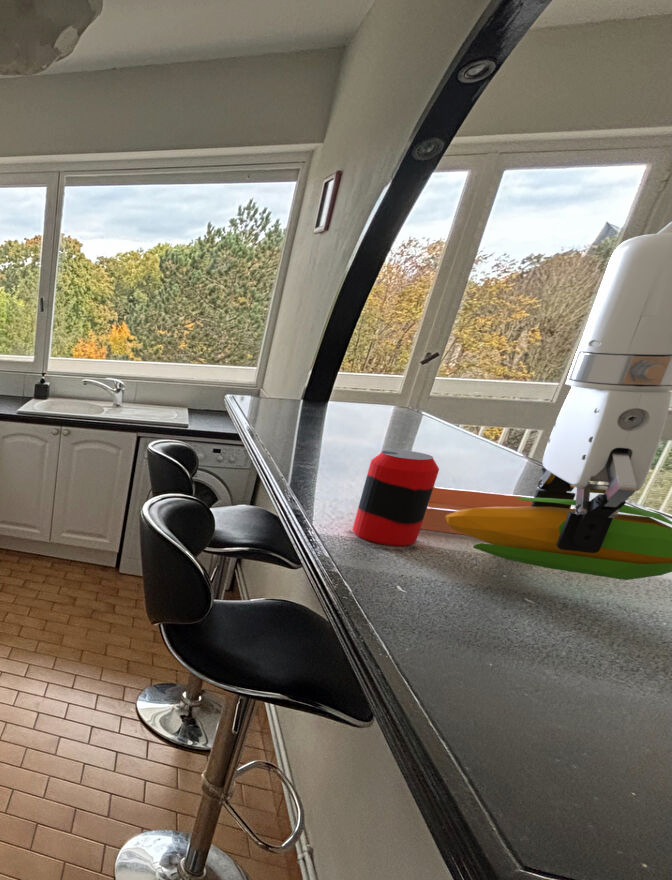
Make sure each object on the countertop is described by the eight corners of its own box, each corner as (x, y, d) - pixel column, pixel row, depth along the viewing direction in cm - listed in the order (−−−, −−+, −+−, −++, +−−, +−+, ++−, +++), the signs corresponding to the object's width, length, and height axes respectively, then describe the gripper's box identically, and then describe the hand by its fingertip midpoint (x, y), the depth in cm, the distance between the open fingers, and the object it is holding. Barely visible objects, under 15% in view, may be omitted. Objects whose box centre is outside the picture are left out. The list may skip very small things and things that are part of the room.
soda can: (350, 524, 89) (371, 446, 84) (411, 533, 85) (437, 452, 81) (353, 540, 83) (375, 456, 78) (419, 550, 79) (447, 464, 75)
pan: (552, 519, 91) (561, 499, 89) (596, 551, 79) (606, 528, 78) (367, 499, 100) (372, 480, 99) (382, 524, 89) (388, 503, 88)
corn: (729, 524, 55) (456, 491, 66) (694, 598, 58) (437, 554, 69) (699, 508, 61) (452, 480, 72) (669, 576, 63) (435, 539, 75)
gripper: (738, 384, 50) (650, 573, 56) (628, 364, 64) (568, 516, 71) (617, 381, 53) (547, 561, 59) (538, 363, 67) (489, 509, 74)
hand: (559, 535), depth 65 cm, fingers closed on corn, 7 cm apart
